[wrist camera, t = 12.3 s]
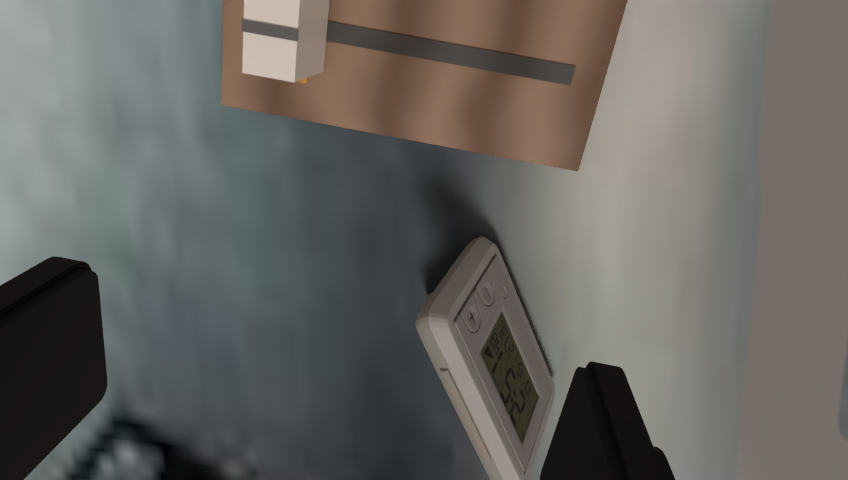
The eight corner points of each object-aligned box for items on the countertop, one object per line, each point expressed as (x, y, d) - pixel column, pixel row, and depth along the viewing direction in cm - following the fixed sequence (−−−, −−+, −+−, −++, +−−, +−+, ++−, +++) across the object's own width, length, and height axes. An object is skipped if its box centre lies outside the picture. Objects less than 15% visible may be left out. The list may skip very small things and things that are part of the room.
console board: (625, -20, 34) (634, -22, 32) (573, 163, 39) (578, 171, 37) (237, -89, 35) (222, -95, 33) (233, 100, 39) (220, 105, 37)
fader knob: (331, -11, 34) (301, -15, 28) (324, 71, 36) (294, 82, 30) (282, -20, 34) (243, -26, 28) (278, 63, 36) (240, 72, 30)
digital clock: (555, 396, 47) (574, 497, 37) (452, 406, 48) (445, 506, 39) (530, 223, 41) (545, 290, 31) (414, 241, 42) (394, 310, 33)
